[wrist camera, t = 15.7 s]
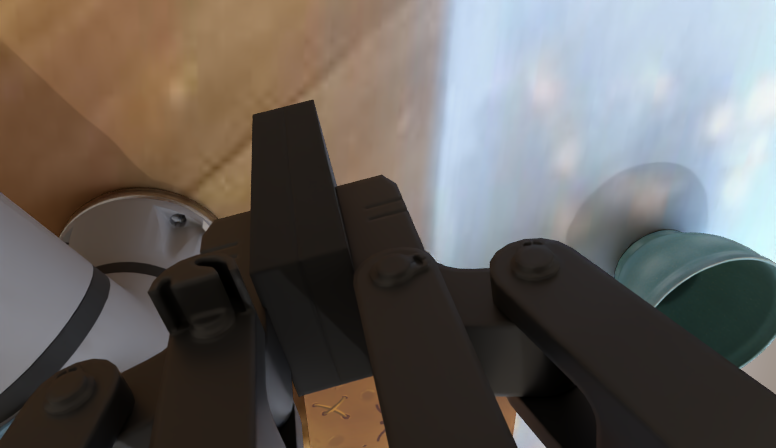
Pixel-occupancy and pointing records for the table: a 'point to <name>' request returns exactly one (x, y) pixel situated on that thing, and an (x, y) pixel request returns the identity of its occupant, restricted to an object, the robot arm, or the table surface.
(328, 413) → the wooden box
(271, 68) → the table surface
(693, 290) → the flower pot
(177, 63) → the table surface
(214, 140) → the table surface
